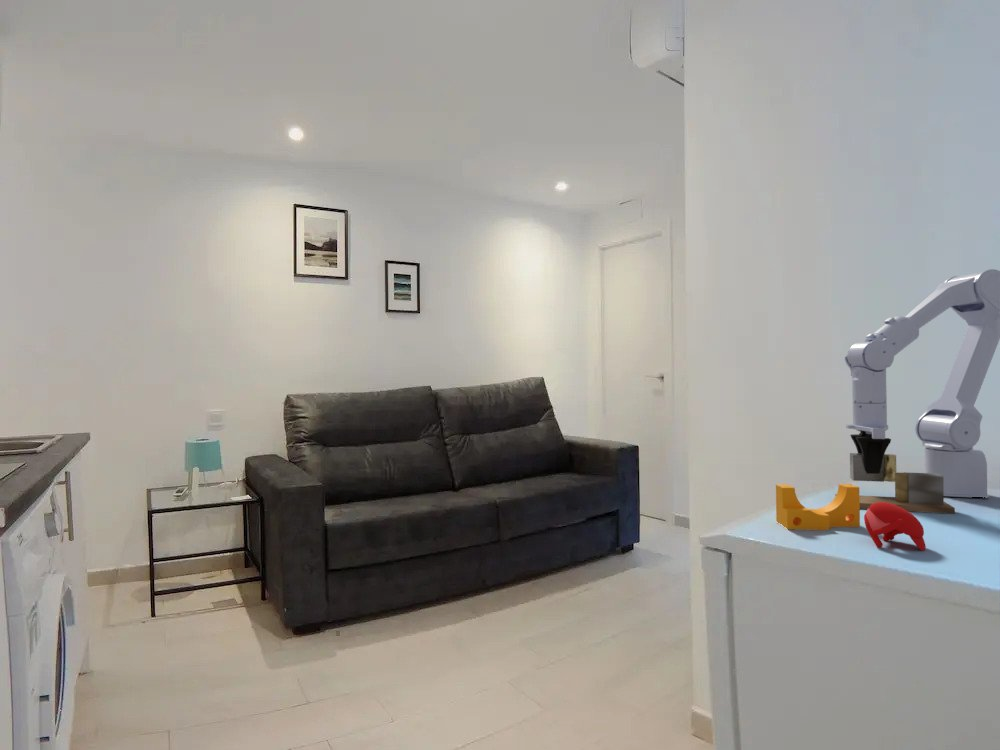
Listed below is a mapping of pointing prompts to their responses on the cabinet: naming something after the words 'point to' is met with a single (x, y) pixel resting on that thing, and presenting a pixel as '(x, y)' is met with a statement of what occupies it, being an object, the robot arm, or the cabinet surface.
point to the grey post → (860, 473)
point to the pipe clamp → (818, 510)
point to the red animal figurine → (892, 524)
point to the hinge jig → (915, 494)
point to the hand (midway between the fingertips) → (870, 471)
